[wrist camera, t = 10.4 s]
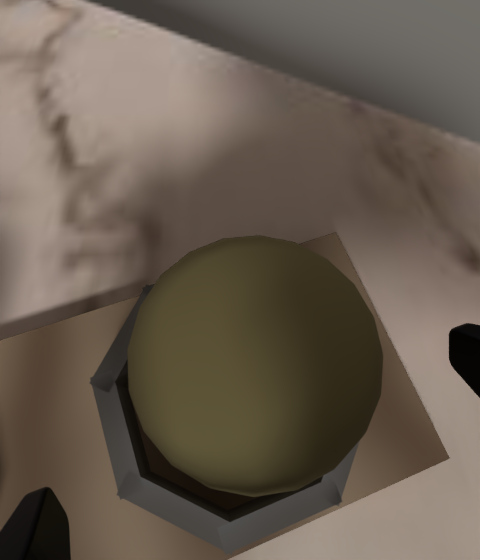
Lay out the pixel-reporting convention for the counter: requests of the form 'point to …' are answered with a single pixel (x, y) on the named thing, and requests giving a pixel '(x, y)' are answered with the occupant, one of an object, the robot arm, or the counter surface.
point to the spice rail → (151, 462)
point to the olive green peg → (254, 365)
